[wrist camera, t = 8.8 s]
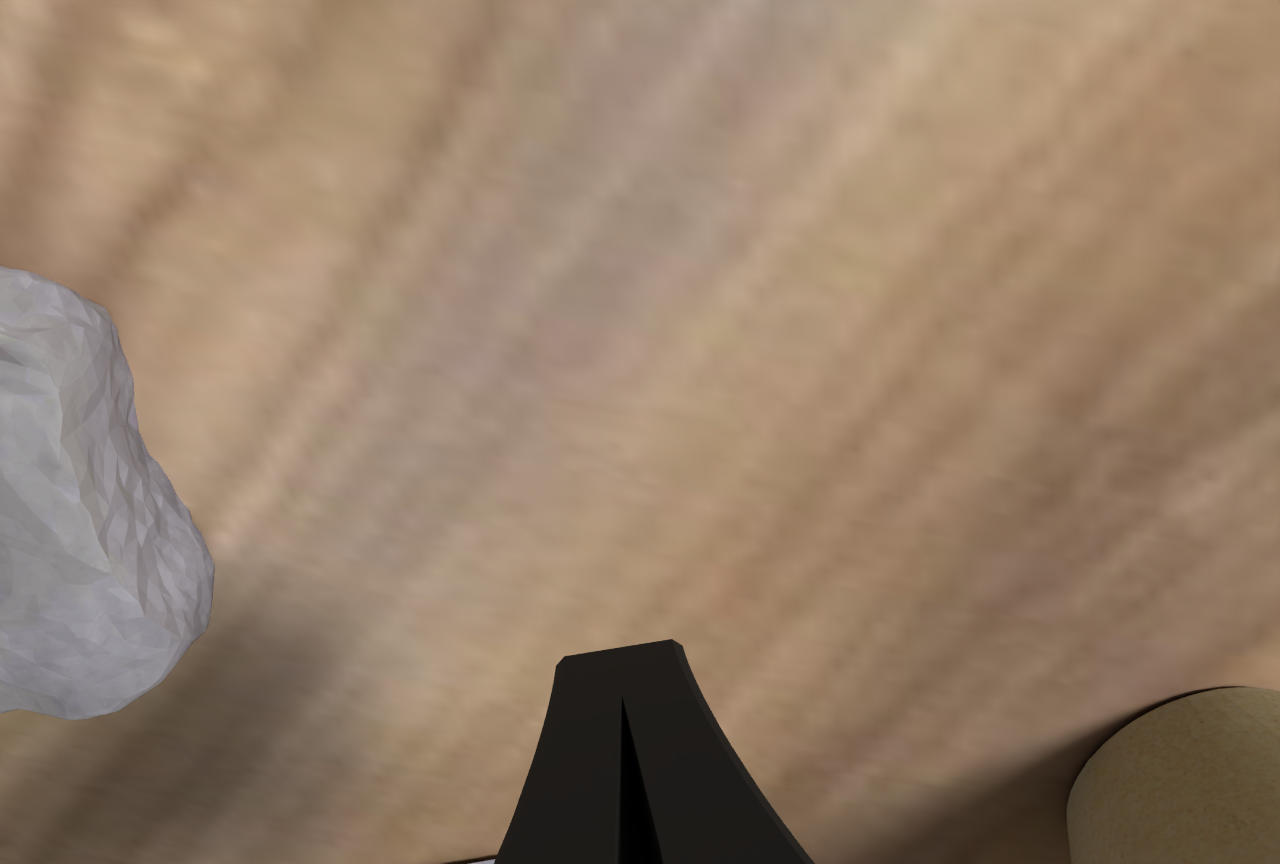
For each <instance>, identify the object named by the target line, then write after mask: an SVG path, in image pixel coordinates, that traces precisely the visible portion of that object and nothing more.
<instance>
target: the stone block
mask: <svg viewBox="0 0 1280 864" xmlns="http://www.w3.org/2000/svg"><path fill="white" fill-rule="evenodd" d="M214 570H215V565H214V563H213V561H212V558H211V556H210V553H209V551H208V549H207V546H206V544H205V542H204V540H203V537H202V535H201V533H200V531H199V530H198V529H197V527H196V526H195V525H194V523H193V522H192V518H191V514H190V511H189V509H188V508H187V507H186V506H185V505H184V503H183V502H182V501H181V500H180V498H179V497H178V496H177V495H176V493H175V490H174V488H173V486H172V484H171V482H170V480H169V479H168V477H167V475H166V474H165V472H164V471H163V469H162V468H161V466H160V465H159V463H158V462H157V461H156V460H155V459H153V458H152V457H151V456H150V455H149V454H148V451H147V449H146V447H145V444H144V442H143V440H142V437H141V435H140V433H139V429H138V421H137V415H136V410H135V404H134V382H133V377H132V374H131V371H130V368H129V365H128V363H127V360H126V357H125V355H124V353H123V351H122V347H121V344H120V341H119V337H118V330H117V328H116V326H115V325H114V323H113V321H112V319H111V317H110V316H109V314H108V312H107V310H106V308H104V307H102V306H100V305H98V304H96V303H95V302H93V301H91V300H89V299H86V298H84V297H83V296H81V295H80V294H78V293H77V292H75V291H73V290H71V289H69V288H67V287H65V286H63V285H61V284H59V283H57V282H55V281H52V280H50V279H48V278H45V277H43V276H40V275H38V274H36V273H32V272H28V271H23V270H19V269H9V268H6V267H3V266H0V713H4V712H8V711H13V710H17V709H21V710H27V711H33V712H37V713H40V714H43V715H48V716H52V717H57V718H61V719H66V720H79V719H88V718H92V717H96V716H100V715H104V714H109V713H113V712H117V711H119V710H121V709H122V708H124V707H125V706H127V705H128V704H130V703H131V702H133V701H134V700H136V699H137V698H139V697H140V696H142V695H143V694H145V693H146V692H148V691H149V690H151V689H152V688H154V687H155V686H157V685H158V684H160V683H161V682H162V681H163V680H164V679H165V677H166V676H167V675H168V674H169V673H170V671H171V670H172V669H173V668H174V667H175V665H176V664H177V662H178V661H179V659H180V658H181V657H182V655H183V654H184V653H185V652H186V650H187V649H188V648H189V646H190V645H191V644H192V643H193V642H194V641H195V640H196V639H197V638H198V637H199V636H201V635H202V634H203V633H204V631H205V630H206V628H207V627H208V624H209V618H210V612H211V605H212V598H213V583H214Z"/></svg>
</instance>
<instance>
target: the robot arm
mask: <svg viewBox="0 0 1280 864" xmlns="http://www.w3.org/2000/svg"><path fill="white" fill-rule="evenodd" d="M469 864H815V863H814V862H813V861H812V860H811V858H810V857H809V856H808V855H807V853H806V852H805V851H804V849H803V848H802V847H801V846H800V844H799V843H798V842H797V840H796V839H795V838H794V836H793V835H792V833H791V832H790V831H789V829H788V828H787V827H786V825H785V824H784V823H783V821H782V820H781V819H780V817H779V816H778V815H777V813H776V812H775V811H774V809H773V808H772V806H771V805H770V803H769V802H768V801H767V799H766V798H765V796H764V795H763V793H762V792H761V791H760V789H759V788H758V786H757V785H756V783H755V782H754V780H753V778H752V777H751V775H750V774H749V772H748V771H747V769H746V768H745V766H744V765H743V763H742V761H741V760H740V758H739V757H738V755H737V754H736V752H735V751H734V749H733V748H732V746H731V744H730V743H729V741H728V739H727V738H726V736H725V734H724V733H723V731H722V729H721V728H720V726H719V724H718V722H717V721H716V719H715V717H714V715H713V713H712V711H711V710H710V708H709V706H708V704H707V702H706V701H705V699H704V697H703V695H702V693H701V691H700V689H699V686H698V684H697V682H696V680H695V678H694V676H693V673H692V671H691V668H690V666H689V664H688V661H687V658H686V655H685V652H684V649H683V646H682V645H680V644H679V643H677V642H676V641H674V640H673V639H670V640H663V641H657V642H651V643H645V644H639V645H632V646H626V647H620V648H614V649H608V650H601V651H595V652H589V653H583V654H577V655H570V656H564V658H563V659H562V660H561V661H560V662H559V663H558V664H557V665H556V670H555V677H554V683H553V688H552V693H551V697H550V702H549V706H548V710H547V714H546V718H545V721H544V725H543V728H542V732H541V735H540V739H539V742H538V745H537V749H536V752H535V755H534V758H533V761H532V764H531V767H530V770H529V773H528V776H527V778H526V781H525V784H524V787H523V790H522V793H521V796H520V798H519V801H518V804H517V807H516V810H515V813H514V815H513V818H512V821H511V823H510V826H509V828H508V831H507V833H506V835H505V838H504V840H503V843H502V845H501V847H500V850H499V852H498V854H497V857H496V859H493V860H487V861H481V862H475V863H469Z"/></svg>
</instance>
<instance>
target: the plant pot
mask: <svg viewBox="0 0 1280 864" xmlns="http://www.w3.org/2000/svg"><path fill="white" fill-rule="evenodd" d="M1066 819H1067V828H1068V838H1069V847H1070V855H1071V863H1072V864H1280V692H1277V691H1273V690H1269V689H1261V688H1253V687H1236V688H1224V689H1215V690H1211V691H1206V692H1202V693H1198V694H1194V695H1190V696H1187V697H1184V698H1181V699H1178V700H1175V701H1172V702H1170V703H1168V704H1165V705H1163V706H1160V707H1158V708H1156V709H1154V710H1152V711H1150V712H1148V713H1147V714H1145V715H1143V716H1141V717H1139V718H1137V719H1136V720H1134V721H1133V722H1131V723H1130V724H1128V725H1127V726H1125V727H1124V728H1122V729H1121V730H1119V731H1118V732H1117V733H1116V734H1115V735H1113V736H1112V737H1111V738H1110V739H1109V740H1107V741H1106V742H1105V743H1104V744H1103V745H1102V746H1101V747H1100V748H1099V749H1098V750H1097V752H1096V753H1095V754H1094V755H1093V756H1092V757H1091V758H1090V759H1089V760H1088V762H1087V763H1086V765H1085V766H1084V768H1083V769H1082V771H1081V772H1080V774H1079V775H1078V777H1077V779H1076V781H1075V783H1074V785H1073V787H1072V790H1071V792H1070V795H1069V800H1068V804H1067V818H1066Z"/></svg>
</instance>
